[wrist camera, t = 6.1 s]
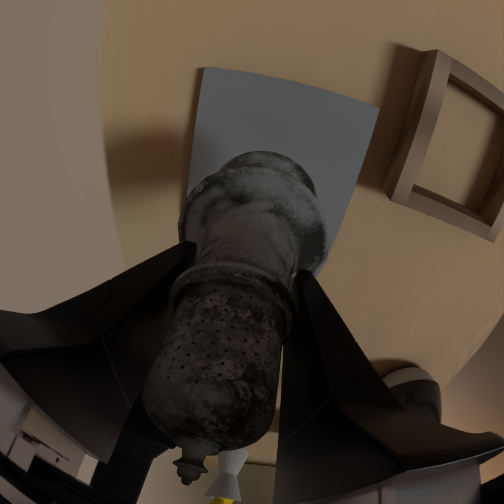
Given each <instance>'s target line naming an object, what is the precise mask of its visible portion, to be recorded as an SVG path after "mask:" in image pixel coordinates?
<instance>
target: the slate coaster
mask: <svg viewBox="0 0 504 504" xmlns="http://www.w3.org/2000/svg"><path fill="white" fill-rule="evenodd" d="M379 110H380V108H378V107H375V106H372V105H370V104H367V103H364V102H361V101H358V100H356V99H353V98H350V97H347V96H343V95H340V94H337V93H334V92H331V91H327V90H324V89H320V88H317V87H313V86H309V85H305V84H301V83H297V82H293V81H289V80H285V79H280V78H275V77H270V76H265V75H260V74H254V73H248V72H242V71H236V70H228V69H220V68H212V67H204V72H203V78H202V84H201V90H200V96H199V102H198V109H197V116H196V123H195V130H194V137H193V145H192V153H191V162H190V171H189V181H188V191H187V197H188V195H189V193H190V192H191V191H192V190H193V189H194V188H195V187H196V186H197V185H198V184H199V183H200V182H201V181H203V180H204V179H205V178H206V177H208V176H210V175H212V174H214V173H216V172H218V171H219V170H220V168H221V167H222V166H224V165H225V164H226V163H227V162H228V161H229V160H231V159H232V158H234V157H237V156H239V155H241V154H243V153H247V152H253V151H269V152H276V153H278V154H281V155H284V156H286V157H289V158H291V159H292V160H293V161H295V162H296V163H297V164H299V165H300V166H301V167H302V168H303V169H304V170H305V171H306V173H307V174H308V175H309V176H310V178H311V180H312V182H313V184H314V187H315V189H316V192H317V199H318V201H319V202H320V203H321V205H322V206H323V208H324V211H325V214H326V216H327V219H328V221H329V224H330V235H331V246H330V250H331V247H332V245H333V242H334V240H335V237H336V235H337V232H338V230H339V227H340V225H341V222H342V219H343V217H344V214H345V212H346V209H347V206H348V204H349V201H350V198H351V195H352V193H353V190H354V187H355V184H356V182H357V179H358V176H359V173H360V170H361V167H362V164H363V161H364V158H365V155H366V152H367V149H368V146H369V143H370V140H371V137H372V134H373V130H374V127H375V124H376V120H377V117H378V114H379ZM330 250H329V252H330Z"/></svg>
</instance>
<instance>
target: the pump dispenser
mask: <svg viewBox="0 0 504 504" xmlns="http://www.w3.org/2000/svg"><path fill="white" fill-rule="evenodd" d="M383 381H384V382H385V383H386V385H387V386H388V387H389V389H390V390H391V391H392V393H393V394H394V395H395V397H396V398H397V399H398V401H399V402H400V403H401V404H402V405H403V406H404V407H405V408H406V409H407V410H409V411H410V412H412V413H413V414H416V415H418V416H421V417H423V418H426V419H429V420H431V421H434V422H437V423H440V424H441V420H442V402H441V392H440V387H439V384H438V383H437V382H435V380H434V379H433V377H432V376H431V375H430V374H429V373H428V372H427V371H425V370H423V369H421V368H416V367H408V368H402V369H399V370H396V371H393V372H391V373H390V374H388V375H386V376H385V377H384V378H383Z"/></svg>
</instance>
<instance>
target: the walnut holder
mask: <svg viewBox="0 0 504 504" xmlns="http://www.w3.org/2000/svg"><path fill="white" fill-rule="evenodd" d="M447 81H450V82H452V83H453V84H455V85H457V86H458V87H460V88H461V89H463V90H465V91H466V92H468V93H469V94H471V95H472V96H474V97H475V98H477V99H478V100H480V101H481V102H483V103H484V104H485V105H487V106H488V107H490V108H491V109H492V110H494V111H495V112H496V113H498V114H499V115H500V116H502V117H503V118H504V94H503V93H502V92H501V91H500V90H498V89H497V88H496V87H494V86H493V85H492V84H491V83H489V82H488V81H486V80H485V79H484V78H482V77H481V76H480V75H478V74H477V73H475V72H474V71H472V70H471V69H469V68H468V67H466V66H465V65H463V64H462V63H460V62H459V61H457V60H455V59H454V58H452V57H450V56H449V55H447V54H445V53H444V52H442V51H440V50H438V49H437V50H430V51H424V52H423V54H422V58H421V63H420V67H419V71H418V75H417V79H416V83H415V87H414V90H413V94H412V98H411V101H410V105H409V108H408V111H407V115H406V118H405V121H404V125H403V128H402V131H401V134H400V137H399V140H398V143H397V146H396V149H395V152H394V155H393V158H392V160H391V163H390V166H389V169H388V171H387V174H386V177H385V180H384V182H383V185H382V187H381V188H382V189H383V191H384V192H385V194H386V195H387V196H388V198H389V199H390V201H392V202H395V203H398V204H401V205H403V206H406V207H409V208H412V209H414V210H417V211H420V212H422V213H425V214H427V215H430V216H432V217H435V218H437V219H440V220H442V221H445V222H447V223H450V224H452V225H454V226H457V227H459V228H461V229H464V230H466V231H468V232H470V233H473V234H475V235H477V236H479V237H481V238H483V239H486V240H488V241H490V242H492V243H494V241H495V239H496V237H497V235H498V233H499V231H500V229H501V228H502V226H503V224H504V152H503V155H502V158H501V161H500V163H499V166H498V169H497V171H496V174H495V177H494V179H493V182H492V184H491V186H490V189H489V191H488V193H487V196H486V198H485V200H484V202H483V205H482V207H481V209H480V211H479V213H476V212H474V211H472V210H470V209H468V208H466V207H464V206H462V205H460V204H458V203H456V202H454V201H452V200H449V199H447V198H445V197H443V196H441V195H438V194H436V193H434V192H432V191H429V190H427V189H424V188H422V187H420V186H417V185H415V184H414V183H415V180H416V177H417V175H418V172H419V170H420V167H421V165H422V162H423V159H424V156H425V154H426V151H427V148H428V145H429V142H430V139H431V136H432V133H433V130H434V127H435V124H436V121H437V117H438V114H439V111H440V107H441V104H442V100H443V97H444V93H445V89H446V85H447Z"/></svg>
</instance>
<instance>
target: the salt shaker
mask: <svg viewBox="0 0 504 504" xmlns="http://www.w3.org/2000/svg"><path fill="white" fill-rule="evenodd" d="M178 232H179V242H180V243H181V242H183V241H191V242H195V243H196V244H197V253H196V264H195V266H194V267H191V268H189V269H188V270H186V271H185V272H184V273H182V274H181V275H179V276H178V278H177V279H176V281H175V282H174V284H173V285H172V287H171V289H170V294H169V299H168V302H169V308H170V312H171V314H172V316H173V318H172V320H171V323H170V325H169V327H168V329H167V331H166V333H165V336H164V338H163V340H162V342H161V344H160V347H159V349H158V351H157V353H156V355H155V358H154V360H153V362H152V364H151V367H150V369H149V371H148V374H147V376H146V378H145V381H144V386H143V393H142V400H143V404H144V407H145V410H146V413H147V414H148V416H149V418H150V419H151V420H152V421H153V423H154V424H155V425H156V426H157V427H158V429H160V430H161V431H162V432H163V433H165V434H166V435H168V436H170V437H171V438H172V441H173V443H174V444H175V445H176V446H178V447H180V448H182V457H181V458H180V459H178V460H176V461H173V464H174V465H176V466H177V467H178V469H177V474H178V476H179V477H181V478H182V479H181V482H182V484H184V485H190V484H191V483H192V481H196V480H198V479H199V478H200V475H201V473H207V472H208V470H207V469H206V468H205V467H204V465H203V461H204V459H205V457H206V455H209V456H214V455H217V454H219V453H220V452H222V451H232V450H237V449H240V448H243V447H246V446H249V445H251V444H253V443H255V442H257V441H258V440H259V439H260V438H261V437H262V436H264V435H265V434H266V433H267V432H268V430H269V427H270V425H271V422H272V420H273V417H274V415H275V407H276V399H277V390H278V381H279V372H280V362H281V352H282V346H283V345H284V344H285V343H287V342H288V341H289V340H290V339H291V337H292V336H293V335H294V333H295V332H296V329H297V326H298V323H299V311H298V305H297V303H296V301H295V299H294V297H293V295H292V293H291V291H290V290H291V287H292V284H293V281H294V279H295V276H296V273H297V271H298V269H305V270H309V271H311V272H312V274H313V275H314V277H315V278H316V277H317V276H318V274H319V273H320V271H321V270H322V268H323V266H324V265H325V263H326V261H327V258H328V254H329V250H330V246H331V235H330V224H329V221H328V219H327V216H326V214H325V211H324V208H323V206H322V205H321V203H320V202H319V201H318V199H317V192H316V189H315V187H314V184H313V182H312V180H311V178H310V176H309V175H308V174H307V173H306V171H305V170H304V169H303V168H302V167H301V166H300V165H299V164H297V163H296V162H295V161H293V160H292V159H291V158H289V157H286V156H284V155H281V154H278V153H276V152H269V151H253V152H247V153H243V154H241V155H239V156H237V157H234V158H232V159H231V160H229V161H228V162H227V163H226V164H225V165H224V166H222V167H221V168H220V170H219V171H218V172H216V173H214V174H212V175H210V176H208V177H206V178H205V179H204V180H203V181H201V182H200V183H199V184H198V185H197V186H196V187H195V188H194V189H193V190H192V191H191V192H190V193H189V195H188V197H187V199H186V200H185V202H184V204H183V206H182V208H181V212H180V216H179V221H178Z"/></svg>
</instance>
